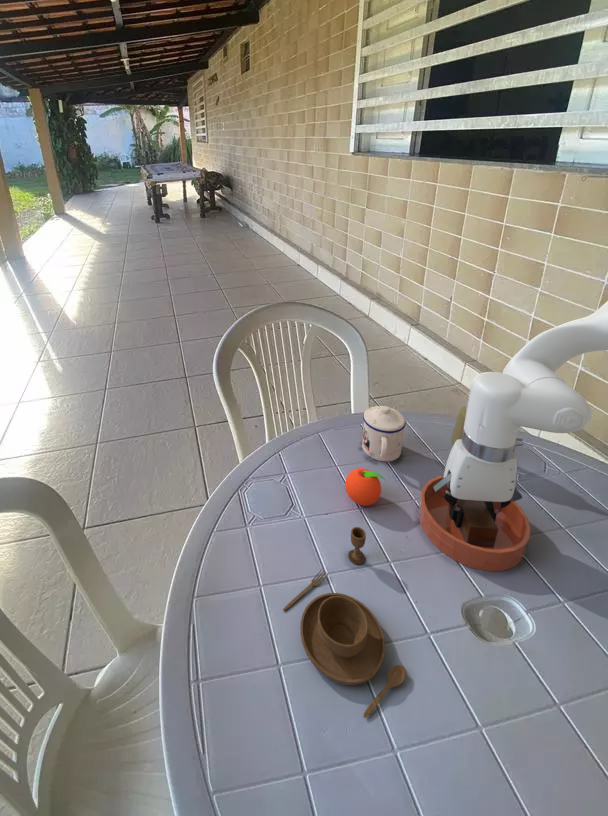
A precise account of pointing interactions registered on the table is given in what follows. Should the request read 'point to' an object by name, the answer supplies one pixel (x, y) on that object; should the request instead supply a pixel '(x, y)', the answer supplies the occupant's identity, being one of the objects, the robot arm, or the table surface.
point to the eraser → (478, 524)
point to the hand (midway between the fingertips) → (470, 521)
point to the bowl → (452, 543)
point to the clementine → (363, 486)
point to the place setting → (345, 634)
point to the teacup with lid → (383, 433)
